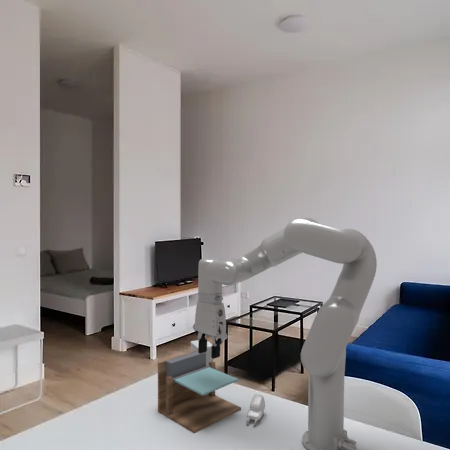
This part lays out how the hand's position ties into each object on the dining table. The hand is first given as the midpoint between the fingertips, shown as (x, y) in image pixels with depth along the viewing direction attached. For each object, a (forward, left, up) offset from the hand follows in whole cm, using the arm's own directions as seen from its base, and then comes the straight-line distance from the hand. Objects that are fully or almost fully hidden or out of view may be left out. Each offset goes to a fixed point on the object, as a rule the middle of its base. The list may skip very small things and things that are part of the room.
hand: (209, 354), depth 126 cm
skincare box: (+20, -14, -20) cm, 31 cm away
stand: (+5, 0, -20) cm, 20 cm away
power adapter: (-11, -10, -20) cm, 25 cm away
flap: (+9, 0, -9) cm, 12 cm away
